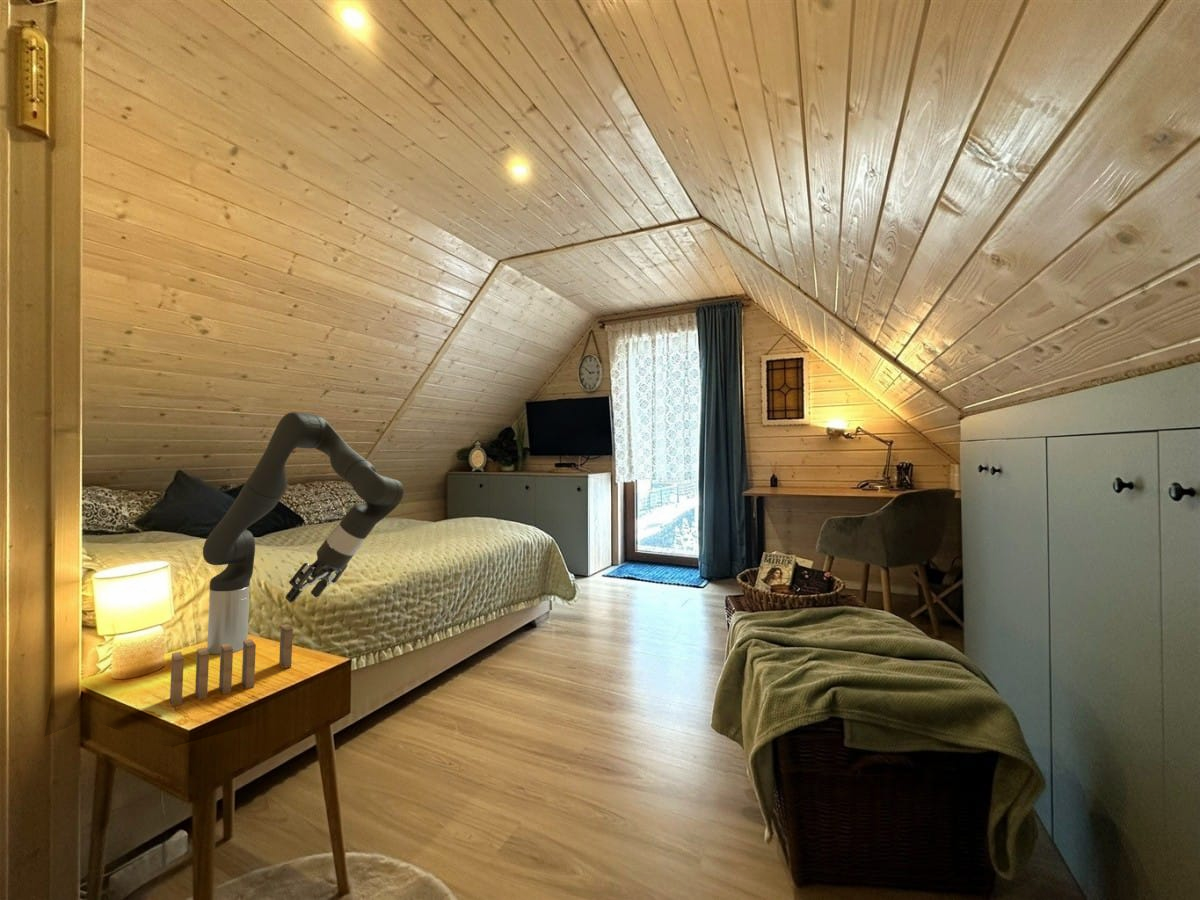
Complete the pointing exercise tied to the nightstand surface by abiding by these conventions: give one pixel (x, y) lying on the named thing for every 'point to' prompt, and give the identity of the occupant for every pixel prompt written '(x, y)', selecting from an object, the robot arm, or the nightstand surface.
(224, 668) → the tile
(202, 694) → the wooden domino
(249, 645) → the tile
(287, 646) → the loose tile
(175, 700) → the tile
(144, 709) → the nightstand surface
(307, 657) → the nightstand surface
